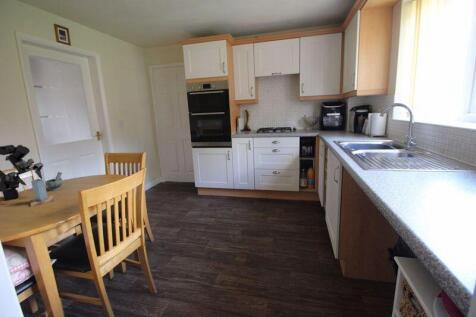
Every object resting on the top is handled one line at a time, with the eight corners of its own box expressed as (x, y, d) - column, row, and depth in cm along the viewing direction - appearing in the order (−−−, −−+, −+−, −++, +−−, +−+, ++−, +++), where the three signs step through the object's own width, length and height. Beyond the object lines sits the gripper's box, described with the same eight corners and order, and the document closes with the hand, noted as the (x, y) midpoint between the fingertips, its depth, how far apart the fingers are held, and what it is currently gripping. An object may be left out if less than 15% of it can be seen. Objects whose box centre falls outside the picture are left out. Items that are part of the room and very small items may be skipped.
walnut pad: (30, 206, 137) (30, 204, 136) (30, 202, 144) (30, 200, 144) (54, 201, 144) (53, 199, 144) (52, 197, 151) (52, 195, 151)
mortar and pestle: (52, 192, 161) (49, 175, 159) (44, 190, 165) (40, 174, 162) (68, 187, 172) (65, 171, 169) (60, 185, 175) (57, 170, 172)
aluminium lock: (41, 201, 141) (36, 181, 138) (35, 200, 143) (30, 180, 140) (48, 199, 145) (43, 179, 142) (42, 198, 146) (37, 179, 144)
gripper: (1, 162, 133) (19, 183, 134) (37, 151, 149) (53, 170, 150) (-2, 170, 138) (15, 190, 140) (33, 159, 154) (48, 177, 156)
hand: (34, 181), depth 146 cm, fingers open, 9 cm apart
